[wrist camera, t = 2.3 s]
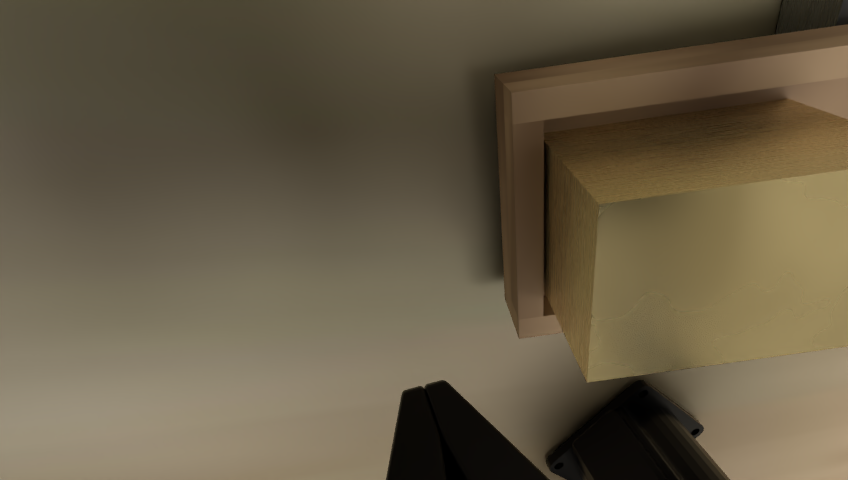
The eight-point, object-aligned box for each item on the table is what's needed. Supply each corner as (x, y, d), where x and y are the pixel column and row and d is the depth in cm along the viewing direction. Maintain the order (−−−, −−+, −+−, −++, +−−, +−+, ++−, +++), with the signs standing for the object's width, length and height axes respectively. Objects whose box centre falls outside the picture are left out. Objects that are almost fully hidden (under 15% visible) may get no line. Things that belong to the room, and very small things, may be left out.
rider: (787, 98, 14) (949, 155, 10) (749, 250, 16) (865, 343, 12) (537, 133, 14) (599, 204, 10) (538, 280, 16) (587, 382, 12)
